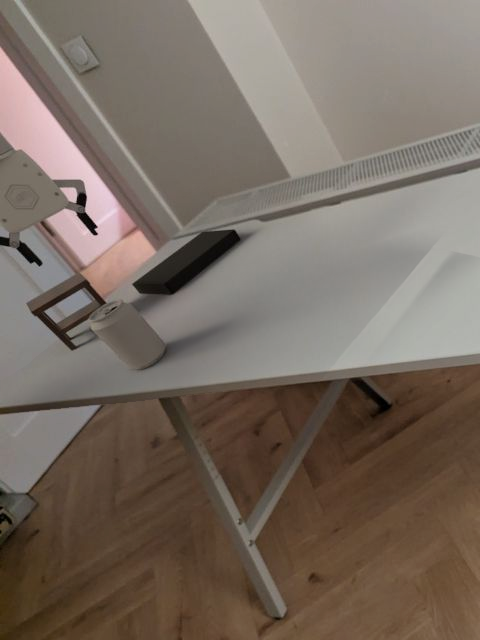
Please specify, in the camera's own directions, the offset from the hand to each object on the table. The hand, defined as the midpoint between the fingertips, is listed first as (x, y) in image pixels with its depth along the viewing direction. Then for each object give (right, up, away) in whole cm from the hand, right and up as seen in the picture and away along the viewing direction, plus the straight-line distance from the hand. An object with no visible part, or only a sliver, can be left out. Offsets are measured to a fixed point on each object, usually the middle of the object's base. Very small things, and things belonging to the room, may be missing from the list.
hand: (68, 248), depth 92 cm
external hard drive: (0, +3, +42) cm, 42 cm away
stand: (-17, -13, +30) cm, 37 cm away
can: (+9, -19, +9) cm, 23 cm away
